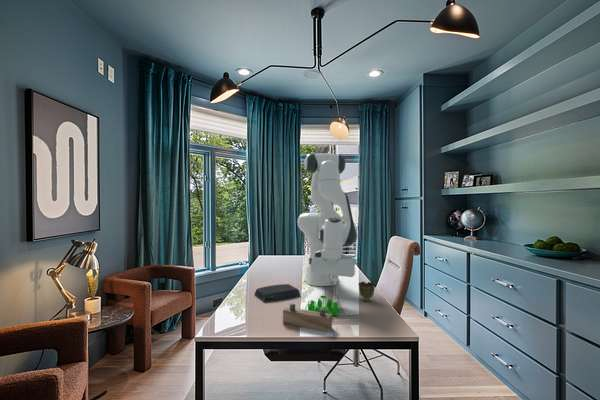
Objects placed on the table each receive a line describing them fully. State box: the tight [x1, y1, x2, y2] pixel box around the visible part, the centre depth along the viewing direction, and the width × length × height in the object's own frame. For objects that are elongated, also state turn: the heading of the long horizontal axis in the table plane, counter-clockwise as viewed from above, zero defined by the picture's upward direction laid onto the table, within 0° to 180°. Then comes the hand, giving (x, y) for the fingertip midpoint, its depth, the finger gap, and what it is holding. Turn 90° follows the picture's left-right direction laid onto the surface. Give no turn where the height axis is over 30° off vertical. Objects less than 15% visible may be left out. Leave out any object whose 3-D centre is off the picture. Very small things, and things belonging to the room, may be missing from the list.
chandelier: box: [304, 295, 341, 317], centre depth 129 cm, size 15×15×7 cm
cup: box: [358, 281, 376, 302], centre depth 144 cm, size 8×7×8 cm
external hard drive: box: [254, 283, 301, 303], centre depth 151 cm, size 13×19×4 cm
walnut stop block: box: [282, 303, 333, 333], centre depth 115 cm, size 4×18×7 cm, turn 66°
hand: (332, 284), depth 141 cm, fingers closed
